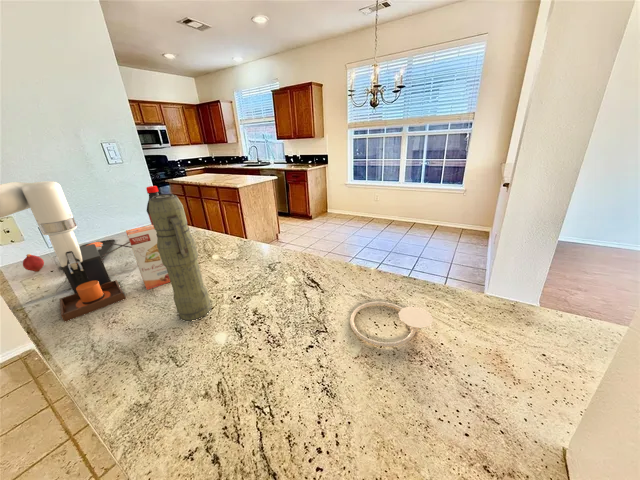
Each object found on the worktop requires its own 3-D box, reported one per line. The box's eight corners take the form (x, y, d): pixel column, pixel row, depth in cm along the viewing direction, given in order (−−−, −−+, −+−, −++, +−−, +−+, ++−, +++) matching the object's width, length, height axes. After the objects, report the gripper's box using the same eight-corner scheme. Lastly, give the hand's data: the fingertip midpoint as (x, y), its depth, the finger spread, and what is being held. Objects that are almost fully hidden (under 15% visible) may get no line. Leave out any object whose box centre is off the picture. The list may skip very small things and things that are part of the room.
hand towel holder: (358, 287, 78) (433, 299, 71) (358, 300, 80) (431, 313, 72) (341, 324, 63) (433, 345, 56) (342, 339, 65) (431, 360, 58)
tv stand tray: (64, 322, 77) (60, 315, 76) (62, 305, 85) (59, 298, 84) (125, 298, 86) (123, 292, 85) (118, 285, 95) (116, 279, 94)
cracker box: (147, 291, 90) (126, 234, 82) (144, 284, 94) (124, 229, 86) (190, 276, 98) (175, 223, 90) (185, 270, 102) (171, 219, 94)
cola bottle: (185, 250, 121) (167, 184, 109) (167, 257, 114) (146, 189, 102) (174, 247, 125) (155, 183, 113) (156, 254, 118) (135, 187, 106)
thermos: (200, 297, 85) (170, 190, 71) (220, 311, 78) (191, 194, 64) (172, 312, 79) (134, 197, 65) (190, 328, 72) (152, 203, 58)
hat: (77, 313, 80) (69, 297, 77) (75, 301, 86) (67, 285, 83) (113, 299, 85) (106, 284, 83) (109, 289, 91) (102, 274, 89)
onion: (32, 270, 110) (22, 252, 107) (49, 266, 112) (41, 249, 109) (24, 276, 105) (14, 258, 102) (43, 272, 107) (34, 255, 104)
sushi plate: (82, 248, 129) (79, 241, 128) (152, 235, 141) (150, 229, 139) (58, 274, 105) (53, 265, 104) (144, 256, 116) (141, 249, 115)
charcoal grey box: (76, 297, 88) (61, 266, 84) (73, 281, 99) (59, 252, 95) (112, 285, 95) (100, 255, 90) (105, 271, 106) (94, 243, 101)
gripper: (40, 222, 79) (63, 272, 85) (39, 236, 67) (66, 293, 74) (73, 216, 84) (92, 264, 90) (78, 229, 72) (99, 283, 79)
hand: (80, 277), depth 82 cm, fingers open, 9 cm apart
